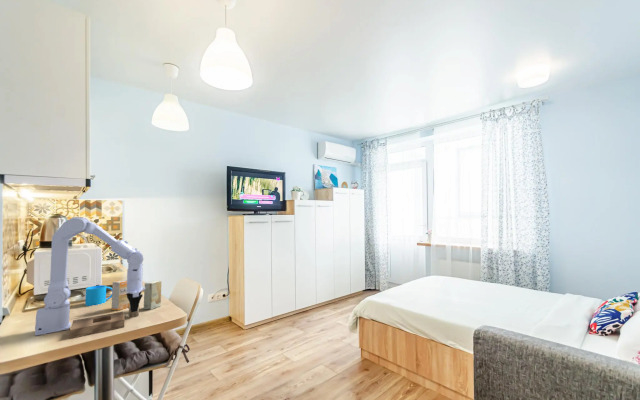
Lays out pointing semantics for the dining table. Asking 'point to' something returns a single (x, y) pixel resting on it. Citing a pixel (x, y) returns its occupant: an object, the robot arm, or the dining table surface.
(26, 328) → the dining table surface
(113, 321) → the socket board
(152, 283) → the skincare box
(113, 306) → the supplement box
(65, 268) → the robot arm
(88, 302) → the mug
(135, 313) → the pin
